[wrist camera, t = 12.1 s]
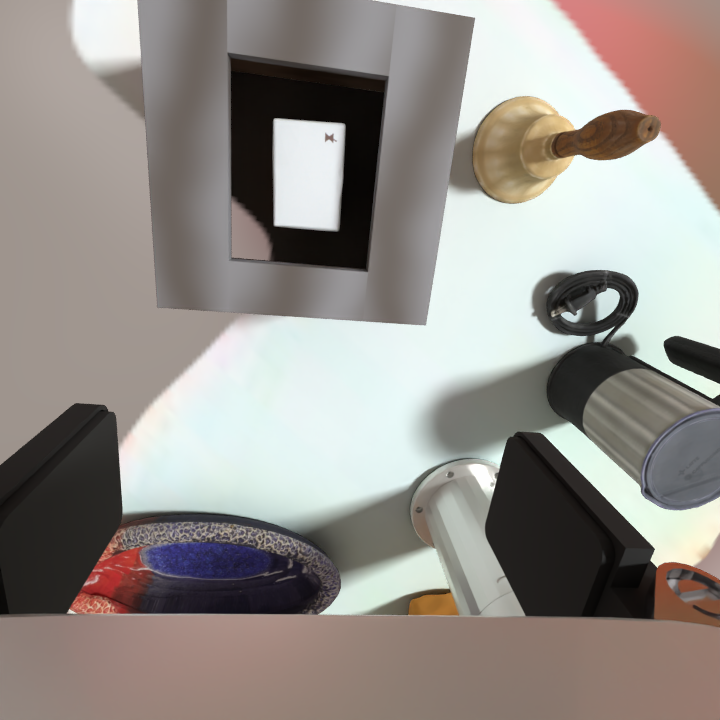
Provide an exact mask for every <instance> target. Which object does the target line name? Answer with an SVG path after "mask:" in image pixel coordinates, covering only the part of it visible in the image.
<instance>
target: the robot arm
mask: <svg viewBox="0 0 720 720" xmlns="http://www.w3.org/2000/svg"><path fill="white" fill-rule="evenodd" d="M410 516H411V520H412V524H413V527H414V529H415V532H416V533H417V535H418V536H419V538H420V539H421V540H422V541H424V542H425V543H426V544H427V545H429V546H431V547H432V548H435V549H436V552H437V554H438V557H439V560H440V563H441V566H442V568H443V571H444V574H445V577H446V580H447V583H448V585H449V588H450V591H451V594H452V597H453V599H454V602H455V605H456V608H457V611H458V614H459V616H457V615H311V614H66V613H67V612H68V610H69V608H70V607H71V605H72V604H73V602H74V600H75V599H76V597H77V595H78V594H79V592H80V590H81V589H82V587H83V585H84V584H85V582H86V581H87V579H88V577H89V576H90V574H91V572H92V571H93V569H94V567H95V566H96V564H97V562H98V561H99V559H100V558H101V556H102V554H103V553H104V551H105V549H106V548H107V546H108V544H109V543H110V541H111V539H112V538H113V536H114V534H115V533H116V531H117V530H118V528H119V526H120V523H121V519H122V495H121V481H120V467H119V452H118V438H117V424H116V416H115V413H114V412H108V409H107V407H106V406H105V405H94V404H79V403H76V404H74V405H72V406H71V407H70V408H69V409H67V410H66V411H65V412H64V413H63V414H61V415H60V416H59V417H58V418H57V419H56V420H54V421H53V422H52V423H51V424H49V425H48V426H47V427H46V428H45V429H43V430H42V431H41V432H40V433H39V434H37V435H36V436H35V437H34V438H33V439H31V440H30V441H29V442H28V443H27V444H25V445H24V446H23V447H22V448H20V449H19V450H18V451H17V452H16V453H15V454H13V455H12V456H11V457H10V458H8V459H7V460H6V461H5V462H4V463H2V464H1V465H0V720H720V580H719V579H718V578H716V577H715V576H713V575H711V574H709V573H707V572H705V571H703V570H701V569H698V568H695V567H693V566H690V565H687V564H682V563H676V562H668V563H663V564H661V565H659V566H658V568H657V567H656V566H655V565H654V564H653V563H652V562H651V561H650V559H651V557H652V555H653V552H654V550H655V549H654V548H653V547H652V545H651V544H650V543H649V542H648V541H647V540H646V539H645V538H644V537H643V536H642V535H641V534H640V533H639V532H638V531H637V530H636V529H635V528H634V527H633V526H632V525H631V524H630V523H629V522H628V521H627V520H626V519H625V518H624V517H623V516H622V515H621V514H620V513H619V512H618V511H617V510H616V509H615V508H614V507H613V506H612V505H611V504H610V503H609V502H608V501H607V500H606V498H605V497H604V496H603V495H602V494H601V493H600V492H599V491H598V490H597V489H596V488H595V487H594V486H593V485H592V484H591V483H590V482H589V481H588V480H587V479H586V478H585V477H584V476H583V475H582V474H581V473H580V472H579V471H578V470H577V469H576V468H575V467H574V466H573V465H572V464H571V463H570V462H569V461H568V460H567V459H566V458H565V457H564V456H563V455H562V454H561V453H560V452H559V450H558V449H557V448H556V447H555V446H554V445H553V444H552V443H551V442H550V441H549V440H548V439H547V438H546V437H545V436H544V435H543V434H541V433H531V432H517V433H515V435H514V436H513V437H510V438H508V440H507V442H506V446H505V450H504V454H503V457H502V461H501V465H500V466H499V465H497V464H495V463H492V462H490V461H486V460H481V459H464V460H458V461H454V462H451V463H448V464H446V465H444V466H442V467H440V468H438V469H436V470H435V471H434V472H432V473H431V474H429V475H428V476H427V477H426V478H425V479H424V480H423V481H422V482H421V484H420V485H419V486H418V488H417V489H416V491H415V493H414V496H413V498H412V502H411V506H410Z"/></svg>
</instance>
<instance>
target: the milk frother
mask: <svg viewBox="0 0 720 720" xmlns="http://www.w3.org/2000/svg"><path fill="white" fill-rule="evenodd" d="M607 288H612V289H615V290H616V291H618V292H619V294H620V300H619V303H618V306H617V307H616V309H615V310H614V311H613V312H612V313H611V314H610V315H609V316H607V317H606V318H604V319H603V320H600V321H597V322H593V323H588V324H578V323H573V322H570V321H567V320H566V319H564V318H563V317H562V316H561V313H563V312H570V313H572V314H573V315H574V316H575V315H577V313H576V312H577V310H579V309H581V308H582V307H584V306H585V305H586V304H588V303H589V302H590V301H591V300H593V299H595V298H596V295H597V294H599V293H601V292H605V291H606V290H607ZM637 301H638V289H637V287H636V285H635V283H634V282H633V281H632V280H631V279H630V278H629V277H628V276H626V275H624V274H621V273H618V272H613V271H608V270H590V271H584V272H580V273H577V274H575V275H571V276H569V277H567V278H566V279H565V280H563V281H562V282H560V283H559V284H558V285H557V286H556V287H555V288H554V289H553V290H552V292H551V293H550V295H549V298H548V301H547V313H548V316H549V318H550V320H551V321H552V322H553V324H554V325H555V326H556V328H557V329H558V330H560V331H561V332H563V333H566V334H571V335H576V336H588V335H594V334H598V333H601V332H604V331H606V330H608V329H610V328H612V327H614V326H615V327H614V329H613V330H612V331H611V332H610V333H609V334H608V335H607V336H606V337H605V339H604V340H603V341H602V342H596V343H590V344H585V345H582V346H580V347H578V348H576V349H574V350H572V351H571V352H569V353H568V354H567V355H566V356H564V357H563V358H562V359H561V360H560V361H559V363H558V364H557V365H556V367H555V368H554V370H553V372H552V374H551V375H550V378H549V381H548V386H547V396H548V401H549V403H550V406H551V407H552V409H553V410H554V411H555V412H556V413H557V414H558V415H559V416H561V417H562V418H564V419H567V420H568V421H570V422H571V423H572V424H573V425H574V426H576V427H577V428H578V429H579V430H580V431H581V432H583V433H584V434H585V435H586V436H587V437H588V438H589V439H590V440H591V441H592V442H594V443H595V444H596V445H597V446H598V447H599V448H600V449H601V450H602V451H603V452H604V453H605V454H606V455H607V456H609V457H610V458H611V459H612V460H613V461H614V462H615V463H616V464H617V465H618V466H619V467H620V468H622V469H623V470H624V471H625V472H626V473H627V474H628V475H629V476H630V477H631V478H632V479H634V480H635V481H636V482H637V483H638V484H639V485H640V487H641V493H642V495H643V496H644V497H645V498H646V499H648V500H650V501H651V502H652V503H654V504H656V505H657V506H659V507H661V508H665V509H669V510H686V509H691V508H696V507H699V506H702V505H704V504H706V503H708V502H711V501H713V500H715V499H717V498H718V497H720V395H718V396H716V397H715V398H713V399H712V398H709V397H708V396H706V395H704V394H702V393H701V392H699V391H697V390H695V389H693V388H691V387H689V386H688V385H686V384H684V383H682V382H680V381H678V380H677V379H675V378H673V377H671V376H669V375H667V374H665V373H663V372H661V371H660V370H658V369H656V368H654V367H652V366H651V365H649V364H647V363H645V362H643V361H642V360H640V359H638V358H636V357H634V356H629V357H628V356H626V355H625V354H624V352H623V351H622V350H621V349H619V348H617V347H616V346H614V345H611V344H608V343H609V341H610V339H611V338H612V336H613V335H614V334H615V332H616V331H617V330H618V329H619V328H620V327H621V326H622V325H623V324H624V323H625V322H626V320H627V319H628V318H629V317H630V315H631V314H632V313H633V311H634V310H635V307H636V305H637ZM664 348H665V352H666V354H667V356H668V358H669V360H670V361H671V362H672V363H673V364H675V365H677V366H680V367H682V368H684V369H686V370H689V371H692V372H694V373H696V374H698V375H701V376H703V377H705V378H707V379H710V380H713V381H715V382H717V383H719V384H720V349H718V348H715V347H711V346H709V345H706V344H702V343H699V342H696V341H693V340H689V339H687V338H683V337H679V336H673V337H670V338H668V339H667V340H665V341H664Z"/></svg>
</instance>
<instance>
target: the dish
mask: <svg viewBox="0 0 720 720" xmlns="http://www.w3.org/2000/svg"><path fill="white" fill-rule="evenodd" d="M340 589H341V579H340V575H339V572H338V570H337V568H336V567H335V565H334V563H333V562H332V561H331V560H330V559H329V558H328V556H327V555H326V553H325V552H324V551H322V550H321V549H320V548H319V547H318V546H316V545H315V544H313V543H312V542H310V541H309V540H307V539H305V538H304V537H302V536H300V535H298V534H296V533H294V532H292V531H290V530H287V529H284V528H282V527H279V526H276V525H273V524H269V523H266V522H262V521H257V520H252V519H247V518H240V517H234V516H223V515H203V514H188V515H165V516H157V517H149V518H144V519H140V520H136V521H132V522H129V523H126V524H123V525H121V526H119V528H118V530H117V531H116V533H115V534H114V536H113V538H112V539H111V541H110V543H109V544H108V546H107V548H106V549H105V551H104V553H103V554H102V556H101V558H100V559H99V561H98V562H97V564H96V566H95V567H94V569H93V571H92V572H91V574H90V576H89V577H88V579H87V581H86V582H85V584H84V585H83V587H82V589H81V590H80V592H79V594H78V595H77V597H76V599H75V600H74V602H73V604H72V605H71V607H70V608H69V609H70V610H72V611H74V612H76V613H78V614H311V615H318V614H319V613H321V612H323V611H324V610H325V609H326V608H327V607H329V606H330V605H331V604H332V602H333V601H334V600H335V599H336V597H337V596H338V594H339V591H340Z"/></svg>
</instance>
